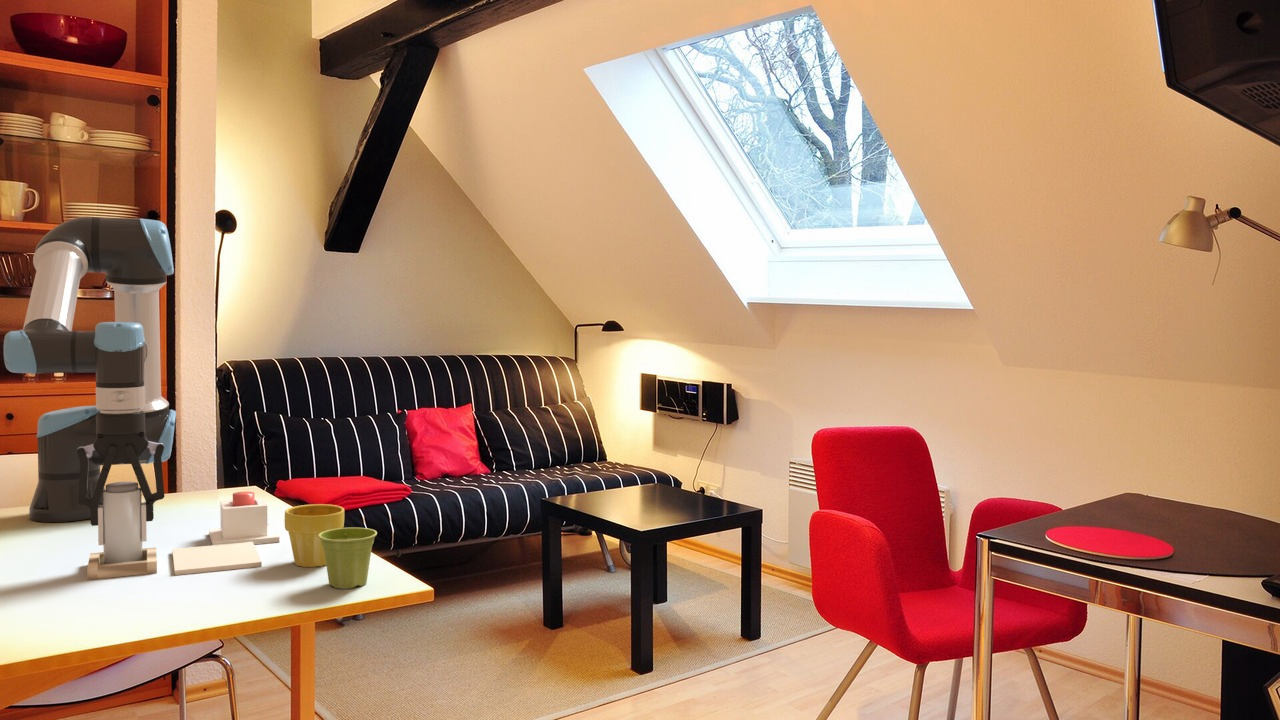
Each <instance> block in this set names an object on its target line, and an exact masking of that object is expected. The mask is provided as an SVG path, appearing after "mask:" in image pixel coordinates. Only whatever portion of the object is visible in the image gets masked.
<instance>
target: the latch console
mask: <svg viewBox="0 0 1280 720" xmlns="http://www.w3.org/2000/svg"><path fill="white" fill-rule="evenodd" d="M219 507H220V508H219V509H220V511H219V512H220V513H219V514H220V528H210V529H208V534H209V539H210V542H211V545H221V544H232V543H243V542H253V543H254V545H261V544H272V543H273V544H274V543H280V536H279V534H278V532H277V529H276V528H275V526H274V524H273V523H270V524H268V505H267V503H266V501H265V499H264V498H263V497H261V498H260V497H259V498H254V505H249V506H236V507H233V499H232V500H231V499H230V500H220V503H219Z"/></svg>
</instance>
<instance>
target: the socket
mask: <svg viewBox="0 0 1280 720" xmlns="http://www.w3.org/2000/svg"><path fill="white" fill-rule="evenodd" d="M86 570H87V571H86V573H87V574H86V576H87V581H89V580H99V579H100V580H101V579H109V578H119V577H131V576H139V575H150V574H157V573H158V561H157V547H148V548H142V561H135V562H124V563H113V564H104V551H103V552H90V553H89V558H88V562H87V568H86Z"/></svg>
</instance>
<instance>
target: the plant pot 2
mask: <svg viewBox="0 0 1280 720" xmlns="http://www.w3.org/2000/svg"><path fill="white" fill-rule="evenodd" d="M377 534H378V532H377V530H375V529H373V528H367V527H343V528H338V529H332V530H327V531H324V532H321V533H320V534H319V538H320V539H321V541H322V546H323V547H324V553H325V559H326V565H325V566H326V573H327V577H328V578H327V579H328V585H329V586H332V587H333V588H335V589H353V588H355V587H356V586H359V587H361V586H364V585H366V584H367V582H368V575H369V569H370V568H369V567H370V561H371V556H372V555H371V554H372V548H373V544H374V542H375V537H376V536H377Z"/></svg>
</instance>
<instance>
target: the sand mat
mask: <svg viewBox="0 0 1280 720" xmlns="http://www.w3.org/2000/svg"><path fill="white" fill-rule="evenodd" d="M172 561H173V571H174V576H179V575H180V576H181V575H190V574H199V573H208V572H209V573H210V572H218V571H219V572H220V571H228V570H229V571H231V570H242V569H249V568H258V567H259V568H260V567H262V563H263V562H262V560H261V557H260V555H259V553H258V551H257V547H256V546H255V544H254V543H253V542H243V543H232V544H221V545H212V544H211V545H202V546H190V547H181V548H180V547H178V548H172Z"/></svg>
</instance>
